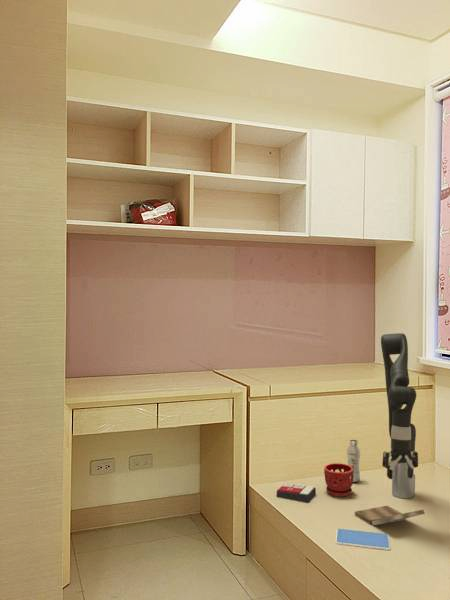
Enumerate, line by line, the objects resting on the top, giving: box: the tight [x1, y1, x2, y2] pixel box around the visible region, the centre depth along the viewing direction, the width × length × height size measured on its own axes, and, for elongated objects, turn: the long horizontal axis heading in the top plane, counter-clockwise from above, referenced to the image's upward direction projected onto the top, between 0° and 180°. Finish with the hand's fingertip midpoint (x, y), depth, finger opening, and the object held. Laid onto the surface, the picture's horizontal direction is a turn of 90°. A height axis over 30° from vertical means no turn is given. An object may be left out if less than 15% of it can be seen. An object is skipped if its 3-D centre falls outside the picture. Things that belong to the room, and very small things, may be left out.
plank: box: [372, 509, 425, 526], centre depth 210 cm, size 16×12×2 cm
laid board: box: [354, 505, 403, 526], centre depth 220 cm, size 17×10×2 cm, turn 114°
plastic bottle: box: [346, 439, 361, 483], centre depth 261 cm, size 6×7×20 cm
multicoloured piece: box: [276, 482, 317, 504], centre depth 241 cm, size 11×4×15 cm
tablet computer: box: [335, 528, 391, 551], centre depth 199 cm, size 19×13×1 cm, turn 76°
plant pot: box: [323, 462, 354, 497], centre depth 245 cm, size 13×13×12 cm
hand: (399, 478), depth 211 cm, fingers open, 8 cm apart
